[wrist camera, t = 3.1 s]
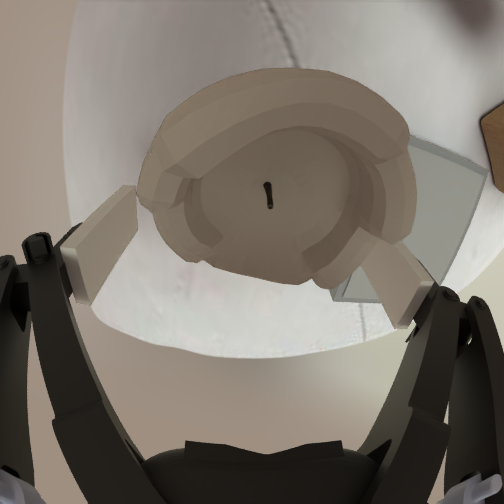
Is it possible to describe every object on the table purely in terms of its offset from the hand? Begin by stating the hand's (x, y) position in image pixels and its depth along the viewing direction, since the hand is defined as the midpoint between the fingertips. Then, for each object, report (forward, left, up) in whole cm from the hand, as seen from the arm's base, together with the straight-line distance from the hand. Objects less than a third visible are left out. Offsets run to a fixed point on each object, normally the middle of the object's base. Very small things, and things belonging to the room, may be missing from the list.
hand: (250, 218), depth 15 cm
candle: (0, 0, -10) cm, 10 cm away
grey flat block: (+3, +17, -10) cm, 20 cm away
